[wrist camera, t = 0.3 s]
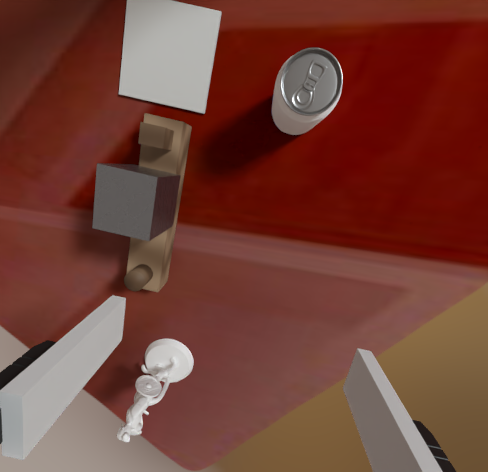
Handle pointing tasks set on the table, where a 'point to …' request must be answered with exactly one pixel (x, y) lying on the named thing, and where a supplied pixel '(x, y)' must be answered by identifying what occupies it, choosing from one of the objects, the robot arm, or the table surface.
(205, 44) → the mat
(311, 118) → the can
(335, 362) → the table surface
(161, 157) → the plane body
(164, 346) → the figurine
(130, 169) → the slate gray cube
